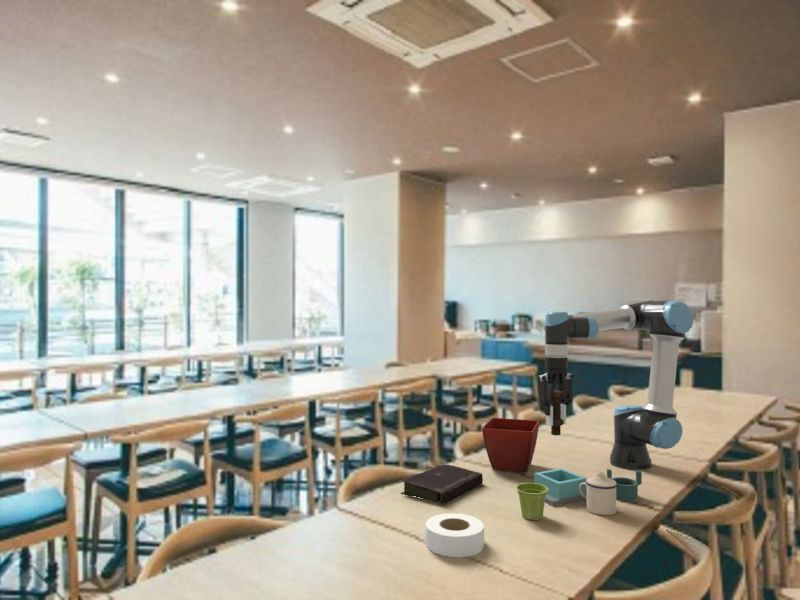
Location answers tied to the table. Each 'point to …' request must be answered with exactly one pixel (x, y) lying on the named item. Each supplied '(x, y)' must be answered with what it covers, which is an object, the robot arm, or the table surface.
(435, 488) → the diary
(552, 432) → the bolt
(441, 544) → the roll of tape
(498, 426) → the plant pot
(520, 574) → the table surface
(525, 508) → the plant pot
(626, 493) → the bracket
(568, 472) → the socket
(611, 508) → the teacup with lid
